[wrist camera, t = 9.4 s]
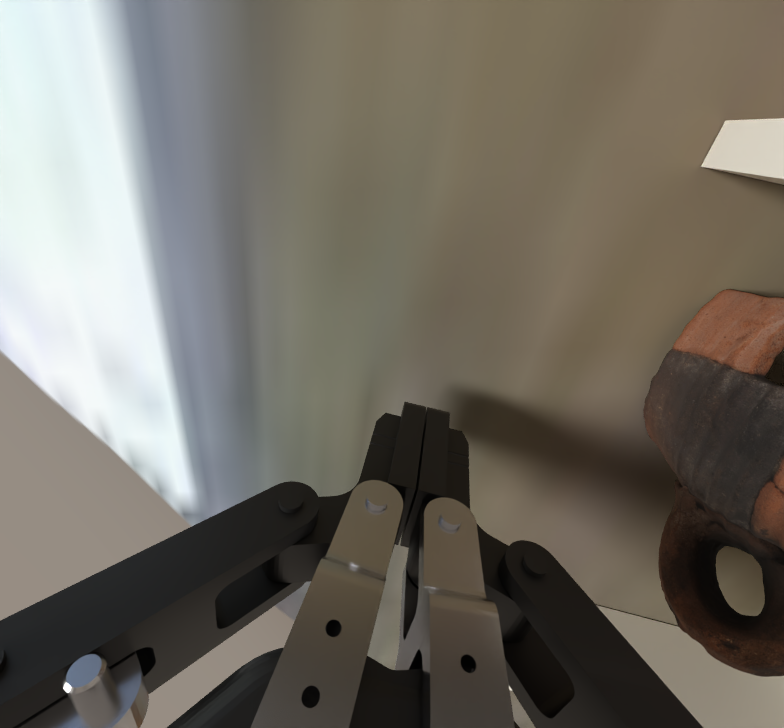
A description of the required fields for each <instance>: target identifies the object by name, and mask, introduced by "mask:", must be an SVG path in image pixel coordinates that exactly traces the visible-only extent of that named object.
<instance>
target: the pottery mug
mask: <svg viewBox="0 0 784 728" xmlns="http://www.w3.org/2000/svg"><path fill="white" fill-rule="evenodd" d="M783 348H784V298H780V297H775V298H769V297H764V296H760V295H756V294H752V293H746V292H741V291H737V290H732V289H726V290H723V291H721V292H719V293H718V294H717V295H716V296H715V297H714V298H713V299H712V300H711V301H710V302H708V303H707V304H706V305H704V306H703V307H702V308H701V309H700V310H699V312H698V313H697V314H696V316H695V317H694V318H693V319H692V320H691V321H690V322H689V323H688V324H687V325H686V327H685V328H684V330H683V332H682V334H681V335H680V336H679V338H678V339H677V340H676V342H675V343H674V346H673V348H672V349H671V350H670V351H669V352H668V353H667V355H666V357H665V358H664V360H663V362H662V364H661V366H660V368H659V370H658V372H657V374H656V375H655V376H654V377H653V378H652V381H651V385H650V390H649V393H648V395H647V397H646V399H645V406H644V418H645V424H646V429H647V432H648V434H649V436H650V438H651V439H652V440H653V441H654V442H655V443H656V444H657V446H658V448H659V449H660V451H661V452H662V454H663V456H664V457H665V459H666V461H667V462H668V464H669V466H670V467H671V469H672V470H673V471H674V472H675V473H676V475H677V477H678V480H676V481H675V494H676V498H675V503H674V506H673V508H672V511H671V513H670V515H669V517H668V519H667V522H666V524H665V527H664V531H663V534H662V538H661V544H660V549H659V575H660V580H661V587H662V590H663V592H664V594H665V599H666V601H667V603H668V605H669V607H670V609H671V611H672V612H673V614H674V615H675V618H676V621H677V623H678V626H679V627H680V629H681V630H682V631H683V632H684V633H687V634H688V635H689V636H690V637H691V638H692V639H694V640H696V641H697V642H698V643H700V644H701V645H702V646H703V647H704V648H705V650H706V651H707V652H708V654H710V655H711V656H712V657H714V658H715V659H717V660H718V661H720V662H722V663H724V664H726V665H728V666H730V667H732V668H734V669H737V670H739V671H742V672H745V673H749V674H752V675H755V676H761V677H772V676H784V551H783V550H784V386H779V385H777V384H775V383H774V382H771V381H769V380H768V379H766V378H765V375H766V374H767V372H768V371H769V369H770V368H771V366H772V364H773V362H774V359H775V357H776V356H777V355H778V354H779V353H781V351H782V350H783ZM724 546H730V547H736V548H738V549H741V550H742V551H745V552H747V553H749V554H751V555H752V556H753V557H754V558H755V559H756V560H757V561H758V563H759V564H760V566H761V568H762V573H763V584H764V592H765V604H764V607H763V610H762V611H761V613H760V614H759V615H758V616H745V615H741V614H739V613H737V612H736V611H735V610H734V609H732V608H731V607H730V606H729V605H728V603H727V602H726V600H725V598H724V596H723V594H722V592H721V590H720V588H719V584H718V581H717V576H716V566H715V564H716V555H717V552H718V551H719V550H720V549H722V548H723V547H724Z"/></svg>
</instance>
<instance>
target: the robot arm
mask: <svg viewBox="0 0 784 728" xmlns="http://www.w3.org/2000/svg"><path fill="white" fill-rule="evenodd" d="M449 416H450V414H449V412H446V411H441V410H437V409H433V408H429V407H427V410H426V407H425V406H421V405H416V404H412V403H408V402H405V403H404V406H403V410H402V414H401V416H396V415H392V414H388V413H385V414H384V415H383V416H382V417H381V418H380V419H378V420H377V421H376V425H375V428H374V432H373V435H372V438H371V442H370V445H369V449H368V452H367V456H366V459H365V462H364V466H363V469H362V473H361V476H360V479H359V482H358V483H357V485H356V486H355V487H354V488H353V489H352V490H350V491H349V492H347V493H345V494H342V495H338V496H330V497H318V496H317V494H316V492H315V491H314V490H313V489H312V488H311V487H309V486H308V485H306V484H303V483H300V482H284V483H280V484H278V485H276V486H274V487H272V488H269V489H267V490H265V491H263V492H261V493H259V494H257V495H255V496H253V497H251V498H249V499H247V500H245V501H243V502H241V503H239V504H237V505H235V506H233V507H231V508H229V509H227V510H225V511H223V512H221V513H219V514H217V515H215V516H213V517H210V518H208V519H206V520H204V521H202V522H200V523H198V524H196V525H194V526H192V527H190V528H188V529H186V530H184V531H182V532H180V533H178V534H176V535H174V536H172V537H170V538H168V539H166V540H164V541H162V542H160V543H158V544H156V545H153V546H151V547H149V548H147V549H145V550H143V551H141V552H140V553H137V554H135V555H133V556H131V557H129V558H127V559H125V560H123V561H121V562H119V563H117V564H115V565H113V566H111V567H109V568H107V569H105V570H103V571H101V572H99V573H96V574H94V575H92V576H90V577H88V578H86V579H84V580H82V581H80V582H78V583H76V584H74V585H72V586H70V587H68V588H66V589H64V590H62V591H60V592H58V593H56V594H54V595H52V596H50V597H48V598H46V599H44V600H42V601H40V602H37V603H35V604H33V605H31V606H30V607H27V608H25V609H23V610H21V611H19V612H17V613H15V614H13V615H11V616H9V617H7V618H5V619H3V620H1V621H0V728H140V726H141V724H142V723H143V720H144V718H145V715H146V712H147V708H148V702H149V694H150V693H151V692H153V691H154V690H155V689H157V688H158V687H159V686H161V685H162V684H164V683H165V682H167V681H168V680H170V679H171V678H172V677H174V676H175V675H177V674H178V673H179V672H181V671H182V670H184V669H185V668H187V667H188V666H189V665H191V664H192V663H194V662H195V661H197V660H198V659H199V658H201V657H202V656H204V655H205V654H206V653H208V652H209V651H211V650H212V649H213V648H215V647H216V646H218V645H219V644H221V643H222V642H223V641H225V640H226V639H228V638H229V637H231V636H232V635H233V634H235V633H236V632H237V631H239V630H240V629H242V628H243V627H245V626H246V625H248V624H249V623H250V622H252V621H253V620H255V619H256V618H258V617H259V616H260V615H262V614H263V613H264V612H266V611H268V610H269V609H270V608H272V607H273V606H275V605H276V604H277V603H279V602H280V601H282V600H283V599H285V598H286V597H287V596H289V595H290V594H292V593H293V592H294V591H296V590H297V589H299V588H300V587H301V586H302V585H303V584H304V583H305V582H307V581H311V584H310V586H309V588H308V591H307V593H306V596H305V598H304V600H303V603H302V605H301V608H300V610H299V612H298V615H297V617H296V620H295V622H294V624H293V627H292V629H291V632H290V634H289V636H288V639H287V641H286V644H285V646H284V648H280V649H276V650H273V651H270V652H267V653H265V654H263V655H261V656H259V657H257V658H254V659H253V660H251V661H250V662H248V663H247V664H245V665H243V666H242V667H241V668H240V669H238V670H237V671H235V672H234V673H233V674H232V675H231V676H229V677H228V678H227V679H226V680H224V681H223V682H222V683H221V684H220V685H218V686H217V687H216V688H215V689H213V690H212V691H211V692H210V693H209V694H208V695H206V696H205V697H204V698H202V699H201V700H200V701H199V702H198V703H196V704H195V705H194V706H193V707H191V708H190V709H189V710H188V711H187V712H185V713H184V714H183V715H182V716H180V717H179V718H178V719H177V720H176V721H174V722H173V723H172V724H171V725H169V726H168V727H167V728H520V727H519V726H518V725H517V724H516V723H515V721H514V718H513V712H512V705H511V698H510V691H509V686H510V687H511V689H512V691H513V692H514V694H515V695H516V697H517V699H518V700H519V702H520V703H521V705H522V707H523V708H524V710H525V711H526V713H527V715H528V716H529V718H530V719H531V721H532V722H533V724H534V726H535V727H536V728H703V727H702V726H701V724H700V723H699V722H698V721H697V720H696V719H695V718H694V716H693V715H692V714H691V713H690V712H689V711H688V710H687V708H686V707H685V706H684V705H683V704H682V703H681V702H680V700H679V699H678V698H677V697H676V696H675V695H674V694H673V692H672V691H671V690H670V689H669V688H668V687H667V686H666V684H665V683H664V682H663V681H662V680H661V679H660V678H659V676H658V675H657V674H656V673H655V672H654V671H653V670H652V669H651V667H650V666H649V665H648V664H647V663H646V662H645V661H644V659H643V658H642V657H641V656H640V655H639V654H638V653H637V651H636V650H635V649H634V648H633V647H632V646H631V645H630V643H629V642H628V641H627V640H626V639H625V638H624V637H623V635H622V634H621V633H620V632H619V631H618V630H617V629H616V627H615V626H614V625H613V624H612V623H611V622H610V621H609V619H608V618H607V617H606V616H605V615H604V614H603V613H602V611H601V610H600V609H599V608H598V607H597V606H596V605H595V604H594V602H593V601H592V600H591V599H590V598H589V597H588V596H587V594H586V593H585V592H584V591H583V590H582V589H581V588H580V586H579V585H578V584H577V583H576V582H575V581H574V580H573V578H572V577H571V576H570V575H569V574H568V573H567V572H566V570H565V569H564V568H563V567H562V566H561V565H560V564H559V562H558V561H557V560H556V559H555V558H554V557H553V556H552V555H551V554H550V553H549V552H548V551H547V550H546V549H545V548H543V547H542V546H540V545H538V544H536V543H533V542H530V541H524V540H521V541H516V542H514V543H512V544H511V545H510V546H508V545H506V544H504V543H502V542H501V541H499V540H497V539H495V538H493V537H492V536H490V535H489V534H487V533H486V532H485V531H483V530H482V529H481V528H480V527H479V526H478V524H477V523H476V520H475V517H474V515H473V514H472V512H471V511H470V495H469V469H468V468H469V458H468V457H469V447H468V442H467V440H466V438H465V436H464V434H463V433H462V431H458V430H454V429H450V428H449ZM401 534H402V538H401V546H405V547H409V550H408V558H407V563H406V565H405V568H404V571H403V580H402V599H401V618H400V636H399V649H398V655H397V660H396V665H395V670H391V669H389V668H387V667H385V666H383V665H382V664H380V663H378V662H377V661H375V660H373V659H372V658H370V657H369V656H367V653H368V649H369V645H370V641H371V637H372V633H373V629H374V625H375V621H376V617H377V613H378V609H379V605H380V601H381V597H382V593H383V589H384V585H385V581H386V574H387V570H388V566H389V562H390V558H391V555H392V552H393V548H394V545H395V544H396V545H398V544H399V540H400V537H401Z"/></svg>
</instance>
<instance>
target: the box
mask: <svg viewBox="0 0 784 728" xmlns="http://www.w3.org/2000/svg"><path fill="white" fill-rule="evenodd" d="M701 167H706V168H710V169H715V170H719V171H724V172H728V173H733V174H737V175H742V176H746V177H751V178H755V179H760V180H764V181H769V182H773V183H778V184H782V185H784V118H780V119H754V120H728V121H725V123H724V124H723V126H722V128H721V130H720V132H719V134H718V136H717V138H716V139H715V141H714V143H713V145H712V147H711V149H710V151H709V153H708V154H707V156H706V158H705V160H704V162H703V164H702V166H701ZM596 606H597V607H598V608H599V609H600V610H601V611H602V613H603V614H604V615H605V616H606V617H607V618H608V619H609V621H610V622H611V623H612V624H613V625H614V626H615V627H616V629H617V630H618V631H619V632H620V633H621V634H622V635H623V637H624V638H625V639H626V640H627V641H628V642H629V643H630V645H631V646H632V647H633V648H634V649H635V650H636V651H637V653H638V654H639V655H640V656H641V657H642V658H643V659H644V661H645V662H646V663H647V664H648V665H649V666H650V667H651V669H652V670H653V671H654V672H655V673H656V674H657V675H658V676H659V678H660V679H661V680H662V681H663V682H664V683H665V684H666V686H667V687H668V688H669V689H670V690H671V691H672V692H673V694H674V695H675V696H676V697H677V698H678V699H679V700H680V702H681V703H682V704H683V705H684V706H685V707H686V708H687V710H688V711H689V712H690V713H691V714H692V715H693V716H694V718H695V719H696V720H697V721H698V722H699V723H700V724H701V726H702V727H703V728H784V676H772V677H761V676H755V675H752V674H749V673H745V672H742V671H739V670H737V669H734V668H732V667H730V666H728V665H726V664H724V663H722V662H720V661H718V660H717V659H715V658H714V657H712V656H711V655H710V654H708V652H707V651H706V650H705V648H704V647H703V646H702V645H701V644H700V643H698V642H697V641H696V640H694V639H692V638H691V637H690V636H689V635H688V634H687V633H684V632H683V631H682V630H681V629H680V627H678V626H674V625H670V624H666V623H662V622H658V621H655V620H651V619H647V618H643V617H639V616H636V615H632V614H628V613H624V612H620V611H617V610H613V609H609V608H605V607H601V606H598V605H596ZM509 690H511V691H512V689H511V687H510V686H509Z"/></svg>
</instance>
